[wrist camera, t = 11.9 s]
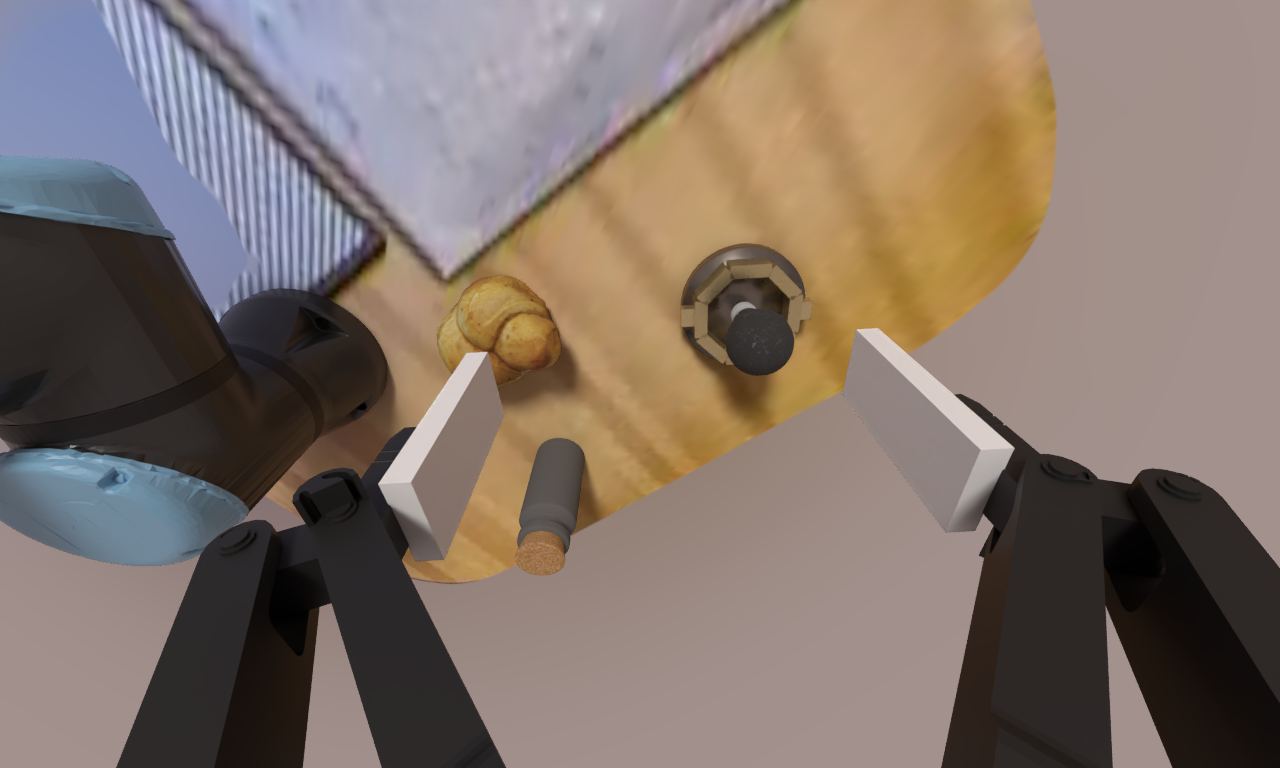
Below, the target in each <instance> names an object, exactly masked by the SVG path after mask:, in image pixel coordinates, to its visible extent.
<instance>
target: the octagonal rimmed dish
mask: <svg viewBox="0 0 1280 768" xmlns="http://www.w3.org/2000/svg"><path fill="white" fill-rule="evenodd" d="M740 302H749V303H751V304H752V305H753V306H755V308H756V309H757V308H760V309H768V310H771V311H774V312H776V313H778V314H779V315H781V316H782V317H783V318H784V319H785V320H786V321H787V322H788V324H789V325H790V327H791V329H792V332H793V336H794V337H796V334H795V333H794V332H799V326H800V321H801V320H807V319H810V316H811V309H812V301H811V299H810V298H805V290H804V285H803V282H802V279H801V277H800V275H799V273H798V271H797V270H796V269H795V267H794V266H793V265H792V264H791V263H790V262H789V261H788V260H787V259H786V258H785V257H784V256H783V255H782V254H780V253H778V252H777V251H775V250H773V249H771V248H769V247H766V246H763V245H758V244H737V245H732V246H728V247H726V248H723V249H721V250H718V251H717V252H715V253H713V254H711V255H710V256H708V257H707V258H706V259H704V260H703V261H702V262H701V263H700V264H699V265H698V266H697V267H696V269H695V270H694V271H693V272H692V274H691V275H690V277H689V278H688V281H687V283H686V285H685V287H684V290H683V294H682V299H681V306H680V313H681V327H684V328H685V330H686V333H687V335H688V337H689V339H690V340H691V342H692V343H693V344H694V346H695V347H696V348H697V349H699V350H700V351H701V352H702V353H704V354H705V355H707V356H709V357H710V358H713V359H715V360H718V361H720V362H721V363H722V364H723V363H724V362H725V363H726V365H734V364H733V363H732V362H731V360H730V358H729V357H728V354H727V351H726V344H725V341H726V334H727V331H728V329H729V326H730V325H731V323H732V319H731V311H732V309H733V307H734V306H735V305H737V304H738V303H740Z"/></svg>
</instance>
